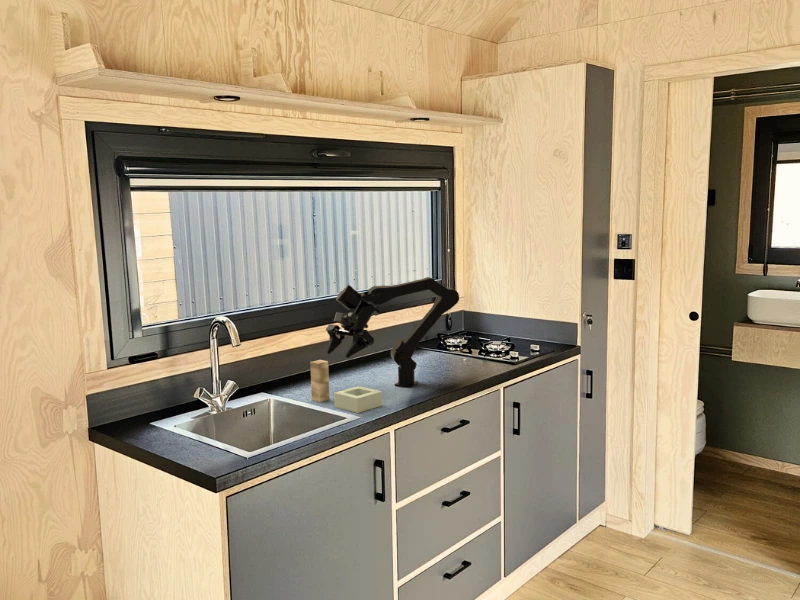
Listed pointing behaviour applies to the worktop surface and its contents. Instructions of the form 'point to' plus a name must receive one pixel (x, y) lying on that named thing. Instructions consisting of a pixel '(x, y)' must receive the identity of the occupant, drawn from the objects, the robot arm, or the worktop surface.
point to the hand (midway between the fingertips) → (336, 355)
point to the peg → (319, 380)
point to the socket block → (358, 399)
